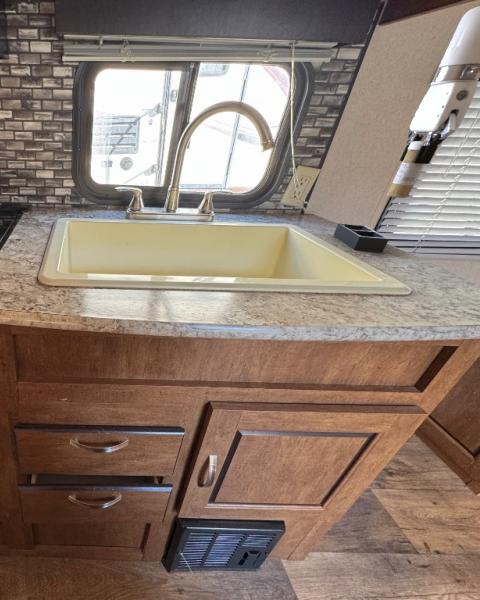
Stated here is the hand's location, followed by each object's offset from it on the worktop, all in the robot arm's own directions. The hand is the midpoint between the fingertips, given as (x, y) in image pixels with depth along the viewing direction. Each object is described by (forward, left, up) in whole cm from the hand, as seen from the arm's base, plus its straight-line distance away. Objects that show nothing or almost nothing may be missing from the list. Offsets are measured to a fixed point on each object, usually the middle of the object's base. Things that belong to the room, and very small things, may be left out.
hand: (414, 161), depth 81 cm
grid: (+1, -6, -24) cm, 25 cm away
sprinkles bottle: (0, 0, -9) cm, 9 cm away
